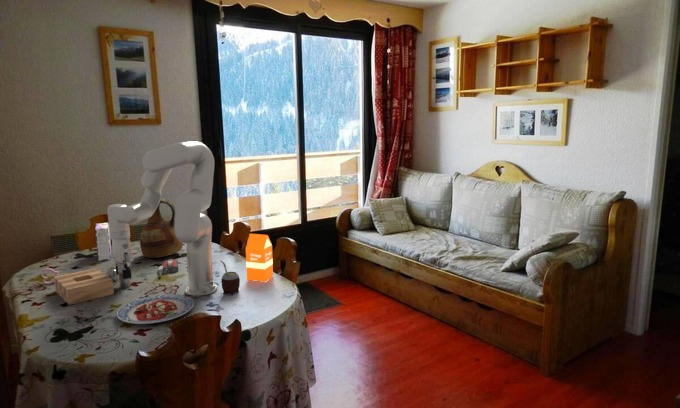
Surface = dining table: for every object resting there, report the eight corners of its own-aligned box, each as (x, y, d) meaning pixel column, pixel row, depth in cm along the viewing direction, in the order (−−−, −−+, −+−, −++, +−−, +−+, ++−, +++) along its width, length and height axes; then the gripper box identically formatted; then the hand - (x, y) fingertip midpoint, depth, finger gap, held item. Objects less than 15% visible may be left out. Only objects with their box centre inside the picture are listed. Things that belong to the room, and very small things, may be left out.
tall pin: (131, 287, 191) (129, 259, 189) (121, 289, 189) (119, 261, 187) (128, 284, 194) (125, 257, 192) (118, 286, 192) (115, 259, 189)
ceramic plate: (106, 313, 166) (105, 305, 166) (174, 294, 184) (174, 287, 183) (133, 336, 148) (133, 327, 147) (207, 313, 166) (206, 305, 165)
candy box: (99, 254, 239) (96, 223, 236) (111, 252, 241) (108, 222, 238) (97, 261, 227) (94, 228, 224) (111, 259, 229) (108, 227, 226)
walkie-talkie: (158, 266, 219) (157, 280, 201) (158, 257, 218) (156, 270, 200) (178, 264, 222) (178, 277, 204) (177, 255, 221) (178, 268, 203)
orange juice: (265, 283, 195) (263, 237, 192) (246, 280, 198) (244, 235, 195) (273, 277, 203) (272, 232, 199) (255, 275, 206) (253, 231, 202)
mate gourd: (238, 288, 189) (237, 253, 186) (241, 295, 182) (240, 258, 179) (220, 291, 186) (218, 255, 184) (222, 298, 179) (220, 261, 176)
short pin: (120, 281, 199) (118, 270, 198) (110, 283, 196) (109, 272, 195) (116, 278, 201) (115, 267, 201) (107, 281, 199) (105, 270, 198)
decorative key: (94, 284, 203) (40, 284, 194) (94, 283, 204) (40, 283, 195) (95, 269, 203) (41, 268, 194) (95, 268, 204) (42, 267, 195)
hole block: (113, 293, 184) (112, 279, 183) (68, 304, 173) (67, 289, 172) (98, 281, 198) (96, 268, 197) (55, 291, 187) (53, 276, 186)
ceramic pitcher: (143, 252, 242) (138, 196, 237) (183, 248, 248) (179, 193, 243) (139, 262, 224) (133, 202, 219) (182, 259, 230) (178, 200, 224)
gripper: (137, 236, 184) (141, 279, 187) (122, 229, 196) (125, 269, 199) (117, 240, 179) (121, 283, 182) (103, 232, 191) (107, 273, 194)
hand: (123, 275), depth 191 cm, fingers open, 7 cm apart
